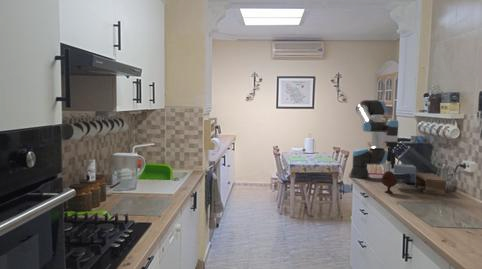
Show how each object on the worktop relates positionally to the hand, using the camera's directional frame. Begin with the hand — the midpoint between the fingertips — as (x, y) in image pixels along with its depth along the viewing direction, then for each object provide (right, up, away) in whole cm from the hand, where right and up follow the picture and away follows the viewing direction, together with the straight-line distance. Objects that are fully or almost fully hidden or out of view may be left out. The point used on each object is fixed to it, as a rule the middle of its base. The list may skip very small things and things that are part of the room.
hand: (390, 171), depth 273 cm
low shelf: (+22, -12, -10) cm, 27 cm away
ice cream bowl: (-9, -13, -19) cm, 25 cm away
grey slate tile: (+7, 0, -1) cm, 7 cm away
